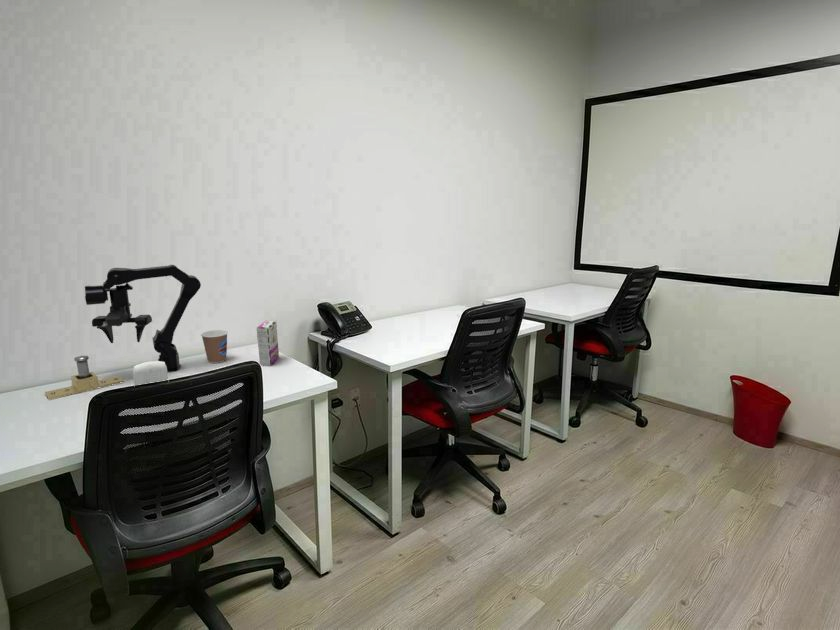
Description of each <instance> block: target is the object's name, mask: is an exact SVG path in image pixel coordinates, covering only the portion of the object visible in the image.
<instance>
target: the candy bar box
mask: <svg viewBox="0 0 840 630" xmlns="http://www.w3.org/2000/svg"><path fill="white" fill-rule="evenodd" d="M277 327H278V326H277V320H265V321H263V322H262V323H261V324H260V325H259V326H257V327H256V336H257V345H258V346H257V347H258V357H259V365H260V364H261V365H263V366H262V367H264V365H271V366H273V364H275V362H276V361H277V360H278V359H279V358H280V353H279V341H278V330H277Z"/></svg>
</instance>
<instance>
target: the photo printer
mask: <svg viewBox="0 0 840 630" xmlns="http://www.w3.org/2000/svg"><path fill="white" fill-rule="evenodd" d="M132 374H133V376H132V377H133V385H139V384H145V383H150V382H157V381H163V380H167V379H168V380H169V375H168V371H167V367H166V365H165V362H162V361H158V360H151V361H145V362H141V363H139V364H136V365H134V366H133V370H132Z"/></svg>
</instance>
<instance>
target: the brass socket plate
mask: <svg viewBox="0 0 840 630" xmlns="http://www.w3.org/2000/svg"><path fill="white" fill-rule="evenodd" d="M89 373H90V377H88V378H83V379H79V374H75V375H71V376H70V379H71V385H70V386H65V387H62V388H57V389H56V388H55V389H51V390H47V391H44V395H45V397H46V398H47V397H48V398H47V399H48V400H49V401H50V399H51V400H55V398H56V399H59V397H60V398H62V397H63V396H64V397H68V396H72V395H71V394H73V395H76V394H75V393H77V394H79V393H78V392H81V393H83V392H82V391H85V392H88V391H87V390H89V391H92V390H91V389H93V390H96V389H95V388H98V387H103V388H105V387H104V386H107V387H110V386H109V385H111V386H113V385H112V384H116V385H118V384H117V383H120V382H124V383H125V379H123V378H122V377H121V376H119V375H115V376H111V377H106V378H102V379H99V378H98V375H97V374H96V373H95V372H93V371H89ZM120 384H121V383H120ZM98 389H99V388H98ZM67 395H68V396H67ZM64 397H63V398H64Z"/></svg>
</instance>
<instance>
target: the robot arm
mask: <svg viewBox="0 0 840 630" xmlns="http://www.w3.org/2000/svg"><path fill="white" fill-rule="evenodd" d="M164 277H173V278H174V279H176V281H178V282H180V283H181V286H180V292H179V296H178V298H177V300H176V302H175V304H174V307H173V308H172V310H171V312H170V314H169V316H168V319H167V320H166V323H165V325H164V327H163V328H162V329H160V330H159V329H156V332H155V334H154V335H153V337H152V345H153V349H154V351H156V353H159V355H158V359H157V361H162V362H165V365H166V367H167V372H176V371H178V370H179V369H180V368H181V366H182V364H180V356H179V352H178V349H177V345H175V344H174V343H173V340H174V339H173V338H174V335H175V331H176V329H177V326H178V325H179V323H180V321H181V319H182V317H183V315H184V313H185V311H186V308H187V307H188V304H189V303H190V301H191V300H192V299H193V298H194V297H195V295H196V294H197V293H198V291H199V290H200V289H201V286H202V284H201V282H200V280H199V278H198V277H196V276H195V275H189V274H188V273H186V272H184V271H183V270H182V269H180V268H178V267H177V266H176V265H175V264H169V265H162V266H151V267H150V266H149V267H142V268H129V267H128V268H127V267H113V268H110V269H109V271H107V275H106V280H105V281H103V284H102V285H85V286H84V294H85V296H84V300H85V303H86V305H87V306H90V305H91V306H92V305H98V304H99V305H103V304H106V302H107V301H109V298H110V306H109V312H108V313H107V315H98V316H96V317H95V318H93V319H92V320H91V326H92V327H96V329H97V330H99V329H100V330H101V331H102V332H103V333H104V334H105V336H106V337H107V339H108V341H109V343H111V344H114V332H113V327H121V326H122V325H123V324H127V323H129V324H130V323H133V324H135V326H134V328H135V331H136V340H137V341H136V342H137V343H140V342H141V339H142V335H143V332H144V329H145V327H146V326H147V325H149V324H150V323H152V322H153V318H152V316H151V315H150V314H139V315H137V316H135V317H133V314H132V313H131V306H132V304H131V302H130V300H129V292H128V291H132V290H134V287H133V286H132V285H130V284H129V283H131V282H134V281H138V280H145V279H146V280H147V279H154V278H164ZM114 286H115V287H114ZM113 287H114V288H113ZM108 293H109V295H108Z"/></svg>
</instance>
